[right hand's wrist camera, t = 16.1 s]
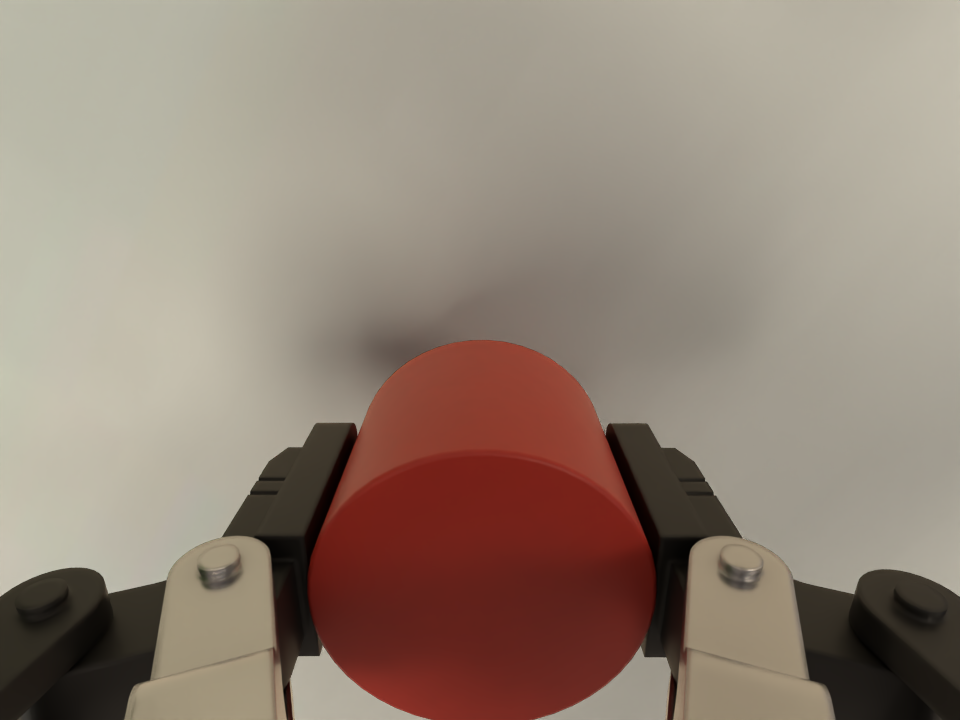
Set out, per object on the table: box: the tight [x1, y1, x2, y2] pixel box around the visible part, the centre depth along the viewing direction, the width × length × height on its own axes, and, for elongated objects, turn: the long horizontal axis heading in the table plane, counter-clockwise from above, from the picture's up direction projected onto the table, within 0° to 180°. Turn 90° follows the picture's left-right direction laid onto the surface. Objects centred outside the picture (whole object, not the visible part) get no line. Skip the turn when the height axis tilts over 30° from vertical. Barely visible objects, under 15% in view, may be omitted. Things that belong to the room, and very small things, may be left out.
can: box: [307, 340, 657, 720], centre depth 10 cm, size 5×5×4 cm
